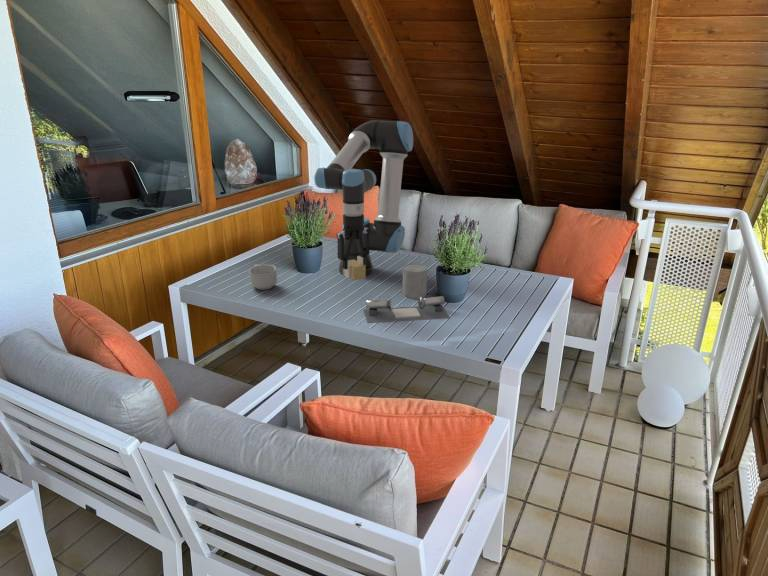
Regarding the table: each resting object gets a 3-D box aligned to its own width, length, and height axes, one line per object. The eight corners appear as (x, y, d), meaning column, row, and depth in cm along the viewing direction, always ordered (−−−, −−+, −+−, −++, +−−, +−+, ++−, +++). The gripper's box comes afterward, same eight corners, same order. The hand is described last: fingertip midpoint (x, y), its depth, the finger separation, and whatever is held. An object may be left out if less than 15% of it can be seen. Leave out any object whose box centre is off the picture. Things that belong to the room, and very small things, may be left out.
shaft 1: (366, 315, 208) (366, 301, 206) (366, 310, 212) (366, 296, 210) (391, 315, 208) (391, 301, 206) (390, 310, 212) (391, 296, 210)
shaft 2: (439, 306, 216) (440, 292, 214) (444, 311, 213) (445, 296, 210) (417, 309, 213) (418, 295, 211) (422, 314, 210) (423, 299, 208)
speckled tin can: (398, 294, 230) (399, 265, 226) (420, 291, 234) (421, 262, 229) (407, 303, 222) (408, 273, 218) (430, 299, 225) (431, 270, 221)
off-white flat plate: (392, 310, 212) (392, 309, 212) (416, 309, 214) (416, 307, 214) (395, 318, 206) (395, 316, 206) (420, 316, 207) (420, 315, 207)
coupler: (342, 274, 215) (342, 261, 213) (353, 271, 218) (353, 259, 216) (353, 280, 209) (353, 267, 207) (365, 278, 212) (365, 265, 210)
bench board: (363, 312, 213) (363, 309, 213) (441, 307, 218) (441, 304, 218) (367, 326, 202) (367, 323, 202) (450, 321, 207) (450, 318, 207)
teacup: (279, 290, 232) (278, 271, 230) (252, 293, 229) (251, 274, 226) (272, 278, 244) (271, 260, 242) (247, 281, 241) (245, 263, 238)
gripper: (337, 219, 197) (338, 283, 206) (380, 212, 207) (379, 273, 216) (326, 215, 202) (327, 277, 211) (367, 208, 213) (367, 267, 221)
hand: (353, 275), depth 213 cm, fingers closed on coupler, 5 cm apart
